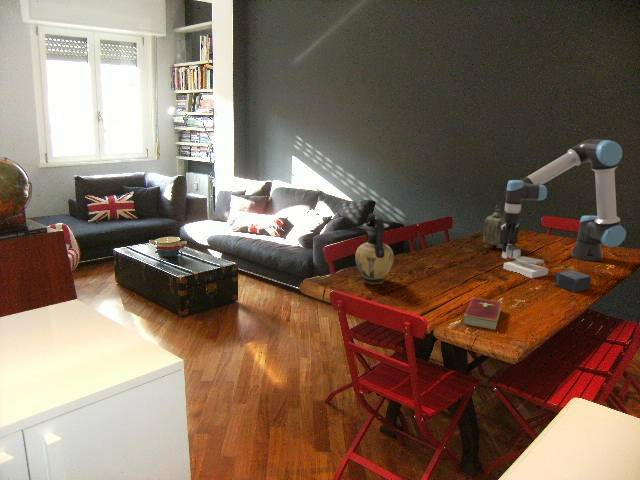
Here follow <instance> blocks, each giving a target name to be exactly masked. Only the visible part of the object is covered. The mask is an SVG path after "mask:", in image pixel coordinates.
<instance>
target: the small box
mask: <svg viewBox="0 0 640 480" xmlns="http://www.w3.org/2000/svg"><path fill="white" fill-rule="evenodd" d="M592 277H593V276H592V275H589V274H585V273H582V272H580V271H577V270H575V269H567V270H563V271H557V272H556V273H555V280H554V285H555V286H556V287H559V288H561V289H564V290H567V291H569V292H572V293H577V292H582V291H586V290H589V289H591V283H592Z"/></svg>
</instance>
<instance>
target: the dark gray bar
mask: <svg viewBox="0 0 640 480" xmlns="http://www.w3.org/2000/svg"><path fill="white" fill-rule="evenodd" d="M507 246H509V247H508V250H512V259H514V261H517V260H519V261H524V262H528V263H531V264H535V265H537V264H542V263H545V259H539V258H534V257H528V256H521V254H522V253H521V252H522V251H521V250H522V249H518V246H519V245H507ZM502 248H503V245H501V244H500V243H498V248H497V249H502Z"/></svg>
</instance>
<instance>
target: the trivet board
mask: <svg viewBox="0 0 640 480" xmlns="http://www.w3.org/2000/svg"><path fill="white" fill-rule="evenodd" d="M502 269H503V270H505V269H506V271H508V270H509V272H511V271H513V272H512V273H514V272H517V273H520V274H522V276H523V275H524V277H527V278H530V279H534V278H539V277H543V276H548V274H549V268H548V267H544V266H540V265H537V264H534V263H529V262H524V261H519V260H512V261H507V262H504V263H503V268H502ZM517 273H516V274H517ZM520 274H519V275H520Z"/></svg>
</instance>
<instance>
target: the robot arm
mask: <svg viewBox="0 0 640 480" xmlns="http://www.w3.org/2000/svg"><path fill="white" fill-rule="evenodd" d="M622 157H623V149H622V147H621V146H620V144H619V143H618V142H616V141H613V140H609V139H599V138H591V139H589V138H588V139H587V140H584V141H582V142H579V143H578V144H576V145H574V146H573V147H571V148H570V149H567V153H564V154H563V155H561V156H560V157H558V158H556V159H555V160H553V161H551V162H549V163H548V164H546V165H544V166H543V167H541V168H539V169H538V170H536V171H534V172H533V173H531V174H529V175H528V176H525V177H524V178H523V179H522V178H521V179H511V180H508V181H507V185H506V186H507V187H506V195H505V203H504V212H503V216H502V217H503V218H504V219H505V222H504V225H502V226H501V225H500V243H499V244H501V245H503V248H501V251H502V253H501V258H503V259H508V258H509V259H511V258H512V256H513V250H508V247H509V246H507V245H514V246H516V244H517V242H518V237H519V231H520V228H521V227H522V225H521V223H518V221H520V216H521V213H520V212H521V210H522V202H523V201H537V202H538V201H543V200H545V199H546V198H547V195H548V189H547V187H546V186H545V185H544V184H546V183H547V182H549V181H551V180H554V178H557V177H558V176H560V175H561V174H563V173H565V172H566V171H568V170H570V169H571V168H573V167H575V166H581V165H583V164H585V163H590V168H591V170H592V171H593V172H594V178H595V179H594V180H595V194H596V195H595V196H596V213H597V214H596V215H582V216H581V217H580V221H579V227H578V233H577V234H578V235H577V240H576V243H575V245H574V247H573V248H572V250H571V253H570V254H571V257H573V258H575V259H579V260H581V261H582V260H583V261H589V262H599V261H602V260H603V257H604V256H603V251H602V245H603V246H605V247H608V248H615V247H618V246H619V245H621V244H622V242H624V240H626V235H627V230H626V229H625V228H624V227H623V226H622V225H621V218H620V217H619V216H617V215H618V213H617V199H616V198H617V196H616V173H615V170H616V169H617V168H618V166H619V165H618V164H619V163H620V161H621V159H622Z"/></svg>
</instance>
